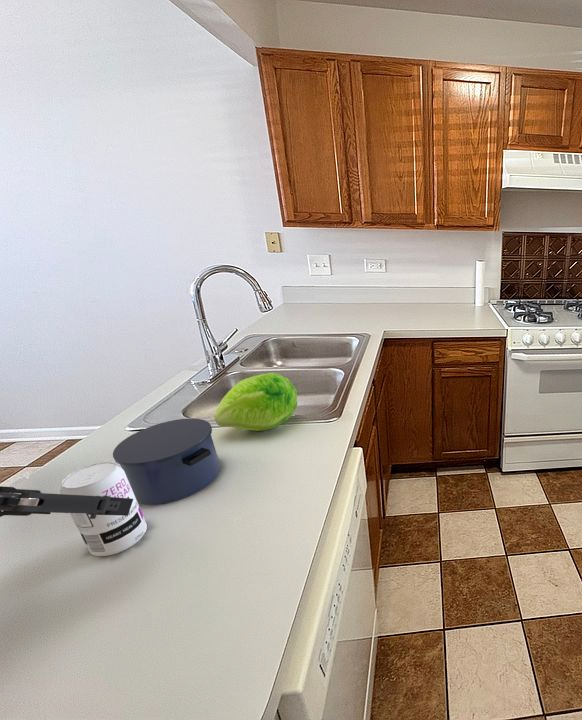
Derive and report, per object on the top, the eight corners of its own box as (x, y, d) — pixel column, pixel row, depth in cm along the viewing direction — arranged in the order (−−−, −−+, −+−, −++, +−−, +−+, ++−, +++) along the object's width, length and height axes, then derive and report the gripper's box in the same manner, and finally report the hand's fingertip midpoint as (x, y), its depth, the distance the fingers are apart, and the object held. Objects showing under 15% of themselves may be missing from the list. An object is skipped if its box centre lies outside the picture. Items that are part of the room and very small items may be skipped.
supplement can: (101, 531, 75) (70, 466, 69) (154, 518, 78) (128, 455, 72) (81, 565, 68) (45, 496, 63) (140, 549, 71) (110, 482, 66)
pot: (107, 493, 85) (88, 451, 81) (185, 449, 100) (173, 412, 96) (171, 517, 78) (153, 473, 74) (245, 466, 93) (234, 427, 89)
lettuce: (226, 431, 111) (205, 382, 106) (300, 406, 121) (284, 360, 116) (226, 455, 98) (202, 401, 93) (310, 424, 107) (292, 373, 102)
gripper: (-192, 530, 47) (9, 528, 66) (10, 534, 46) (153, 531, 66) (-152, 465, 50) (29, 482, 69) (39, 468, 49) (168, 484, 69)
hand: (90, 506), depth 68 cm, fingers open, 13 cm apart
